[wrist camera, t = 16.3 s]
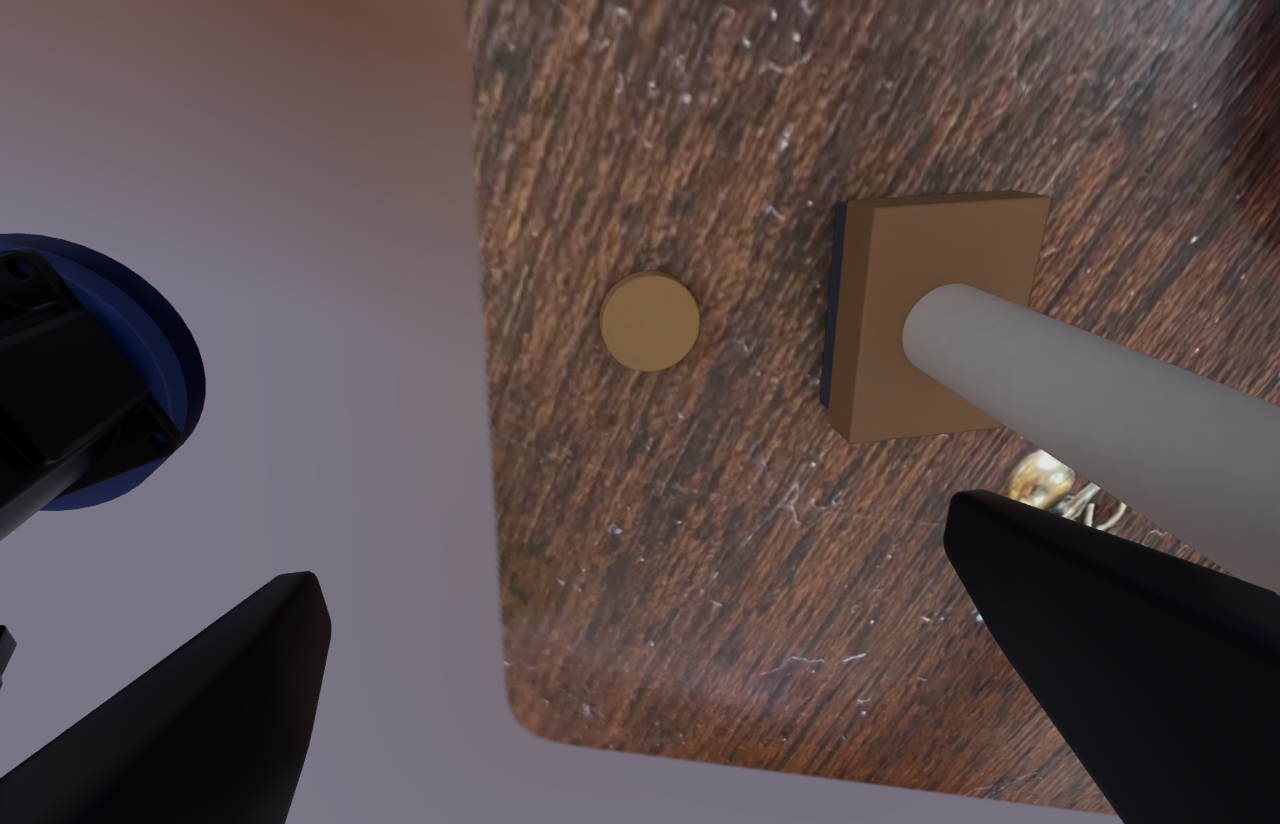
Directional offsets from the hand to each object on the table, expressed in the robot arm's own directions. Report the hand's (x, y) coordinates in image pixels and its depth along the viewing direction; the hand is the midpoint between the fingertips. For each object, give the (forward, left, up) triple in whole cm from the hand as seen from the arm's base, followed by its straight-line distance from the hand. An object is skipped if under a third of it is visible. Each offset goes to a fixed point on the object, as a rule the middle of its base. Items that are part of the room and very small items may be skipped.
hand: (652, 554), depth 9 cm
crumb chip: (+2, -1, -13) cm, 13 cm away
